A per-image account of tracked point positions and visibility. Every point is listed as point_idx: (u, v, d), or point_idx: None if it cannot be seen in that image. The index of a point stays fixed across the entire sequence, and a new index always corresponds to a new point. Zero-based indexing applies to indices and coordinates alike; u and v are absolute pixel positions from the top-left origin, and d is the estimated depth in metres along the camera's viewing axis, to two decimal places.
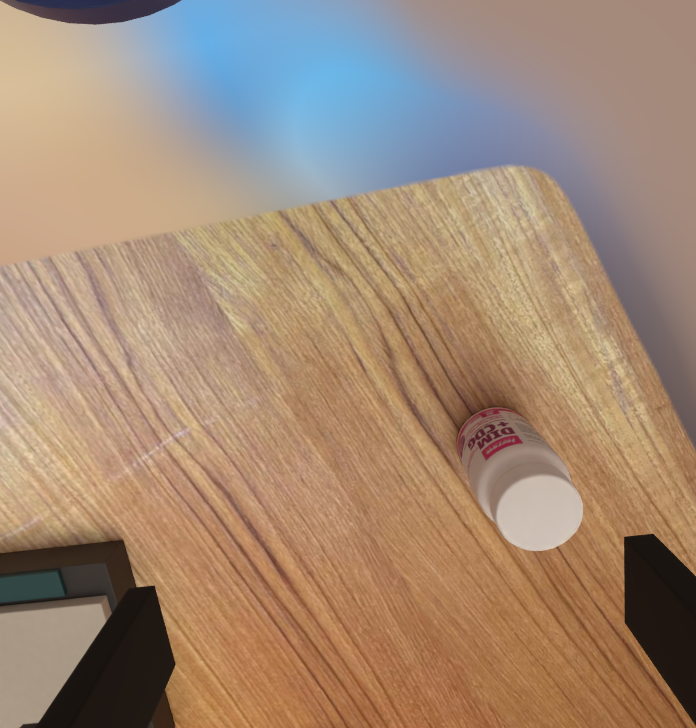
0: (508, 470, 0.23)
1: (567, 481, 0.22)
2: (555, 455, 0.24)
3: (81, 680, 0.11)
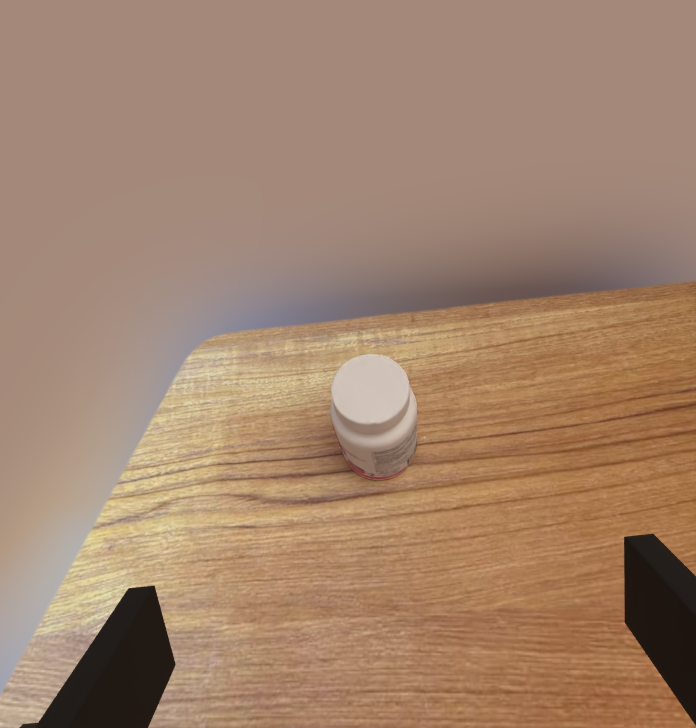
0: None
1: (352, 359, 0.26)
2: None
3: (81, 680, 0.11)
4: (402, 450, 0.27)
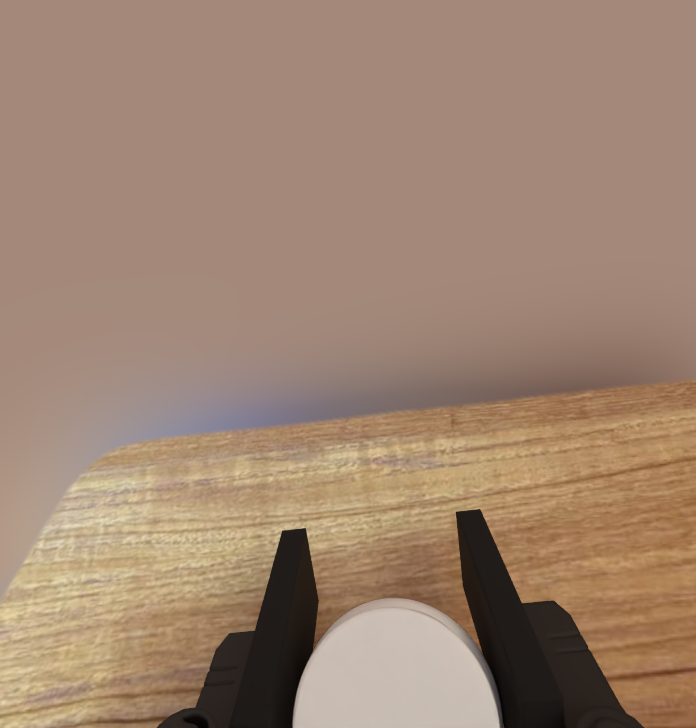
0: None
1: (348, 619, 0.10)
2: (353, 609, 0.12)
3: (277, 596, 0.13)
4: None
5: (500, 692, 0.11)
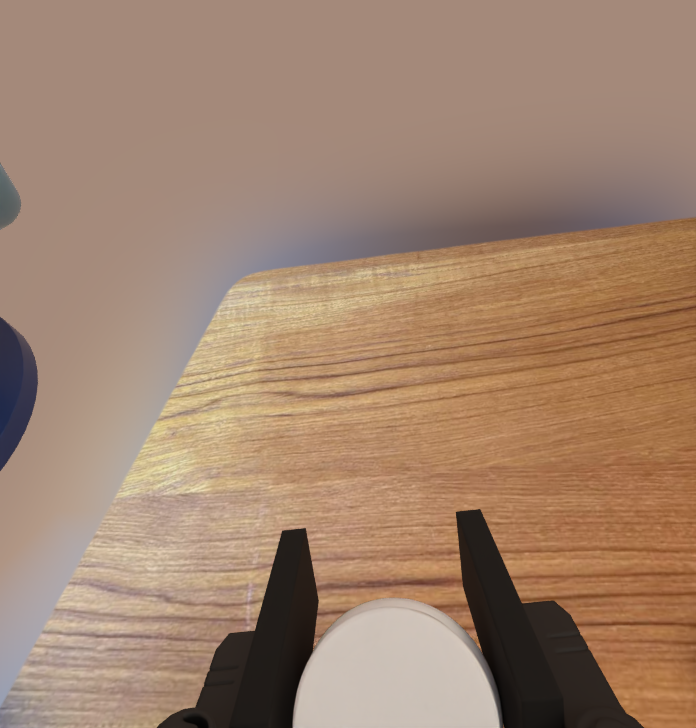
0: None
1: (348, 618, 0.10)
2: (353, 608, 0.12)
3: (277, 596, 0.13)
4: None
5: (500, 692, 0.11)
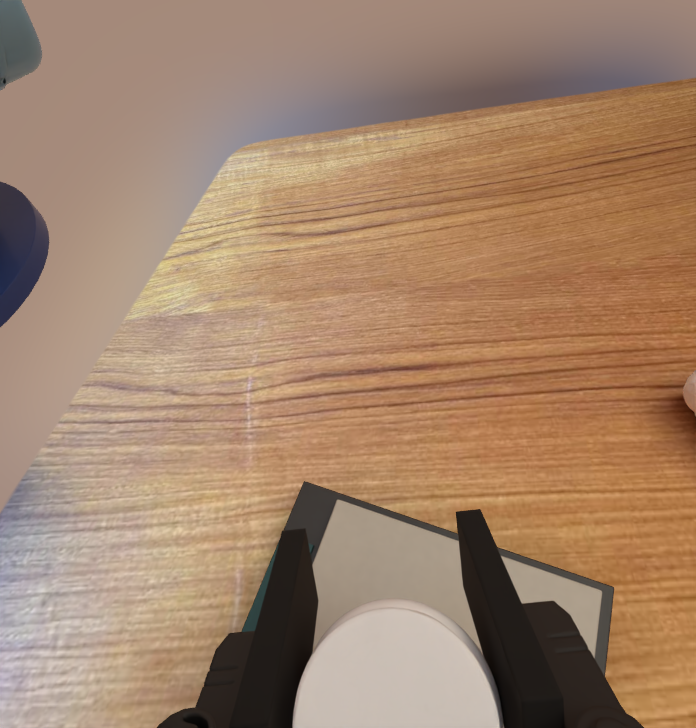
0: None
1: (348, 619, 0.10)
2: (353, 609, 0.12)
3: (277, 596, 0.13)
4: None
5: (500, 692, 0.11)
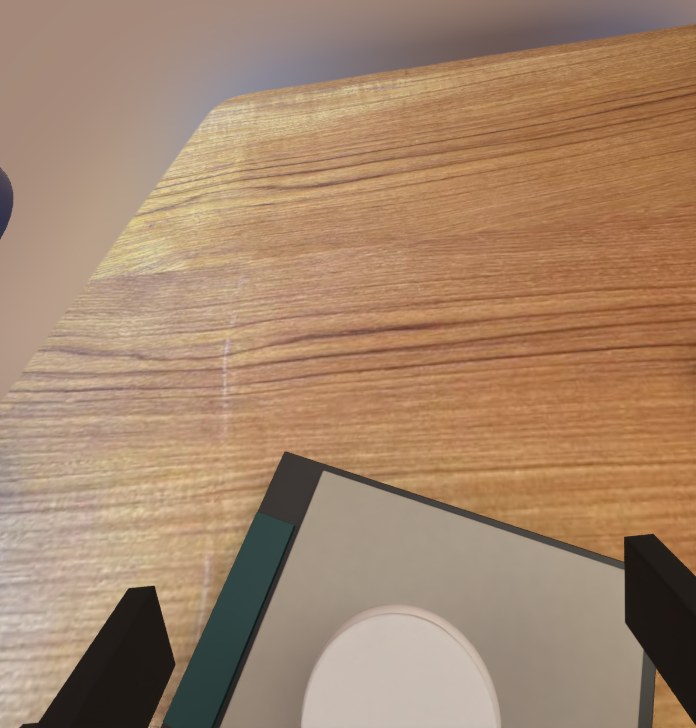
0: None
1: (353, 624, 0.11)
2: (357, 614, 0.13)
3: (81, 680, 0.11)
4: None
5: None
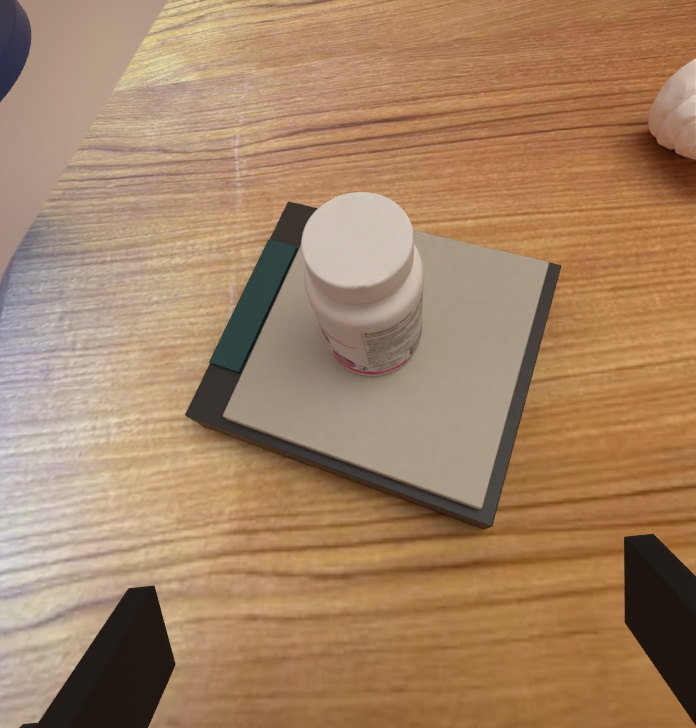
0: None
1: (332, 200, 0.18)
2: None
3: (81, 680, 0.11)
4: (403, 332, 0.20)
5: None
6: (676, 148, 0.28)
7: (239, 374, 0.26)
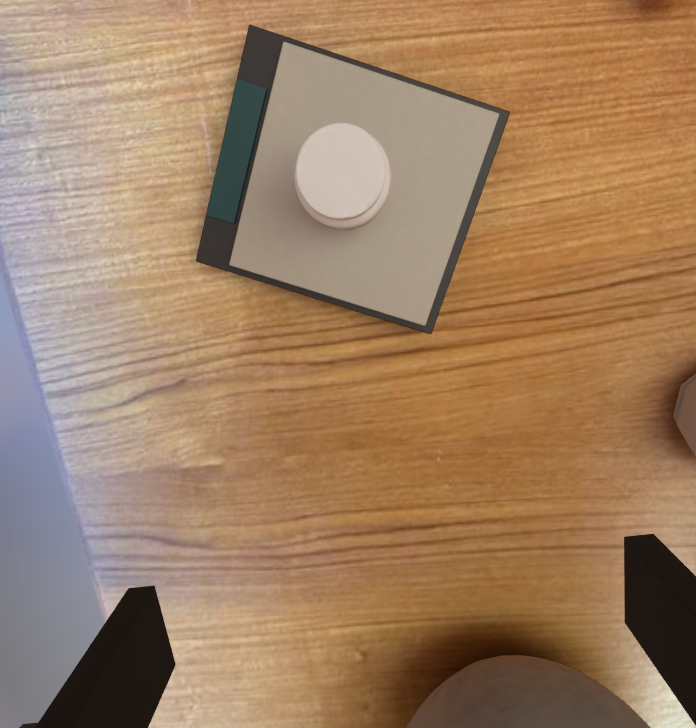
0: None
1: (317, 130, 0.21)
2: None
3: (81, 680, 0.11)
4: None
5: None
6: None
7: (234, 224, 0.31)
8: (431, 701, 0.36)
